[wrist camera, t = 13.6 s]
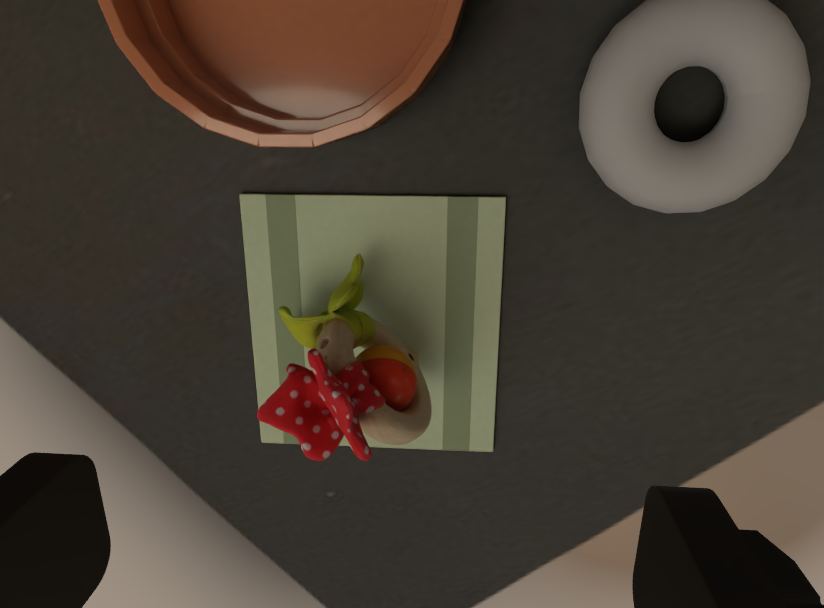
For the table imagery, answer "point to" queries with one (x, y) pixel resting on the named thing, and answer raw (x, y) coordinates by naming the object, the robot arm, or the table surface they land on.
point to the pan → (286, 61)
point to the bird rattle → (349, 380)
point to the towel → (386, 293)
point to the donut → (740, 120)
